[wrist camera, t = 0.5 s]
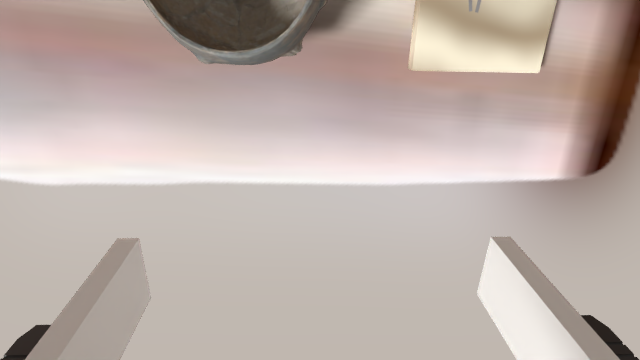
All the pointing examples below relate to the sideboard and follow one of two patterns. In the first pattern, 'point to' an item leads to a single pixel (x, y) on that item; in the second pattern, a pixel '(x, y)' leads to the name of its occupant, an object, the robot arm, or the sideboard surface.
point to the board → (480, 35)
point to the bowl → (237, 27)
